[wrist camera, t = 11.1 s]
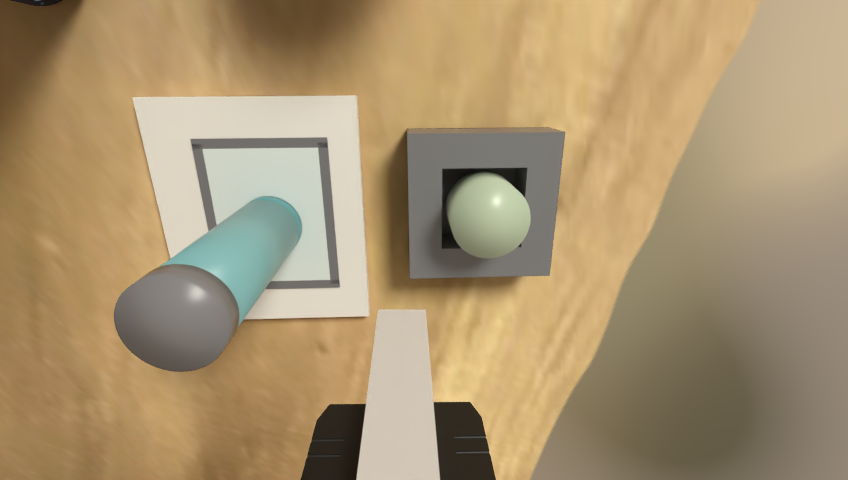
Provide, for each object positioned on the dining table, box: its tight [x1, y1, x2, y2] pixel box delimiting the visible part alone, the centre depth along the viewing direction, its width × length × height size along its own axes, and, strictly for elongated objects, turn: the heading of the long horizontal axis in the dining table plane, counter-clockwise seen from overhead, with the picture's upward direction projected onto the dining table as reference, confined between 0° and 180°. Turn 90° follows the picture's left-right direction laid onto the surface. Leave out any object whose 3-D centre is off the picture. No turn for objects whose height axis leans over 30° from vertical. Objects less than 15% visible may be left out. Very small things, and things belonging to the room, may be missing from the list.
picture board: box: [132, 95, 370, 319], centre depth 27 cm, size 15×13×1 cm
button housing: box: [407, 127, 565, 279], centre depth 26 cm, size 9×9×3 cm
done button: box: [446, 171, 531, 259], centre depth 24 cm, size 4×4×3 cm
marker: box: [114, 196, 302, 372], centre depth 21 cm, size 4×4×12 cm
